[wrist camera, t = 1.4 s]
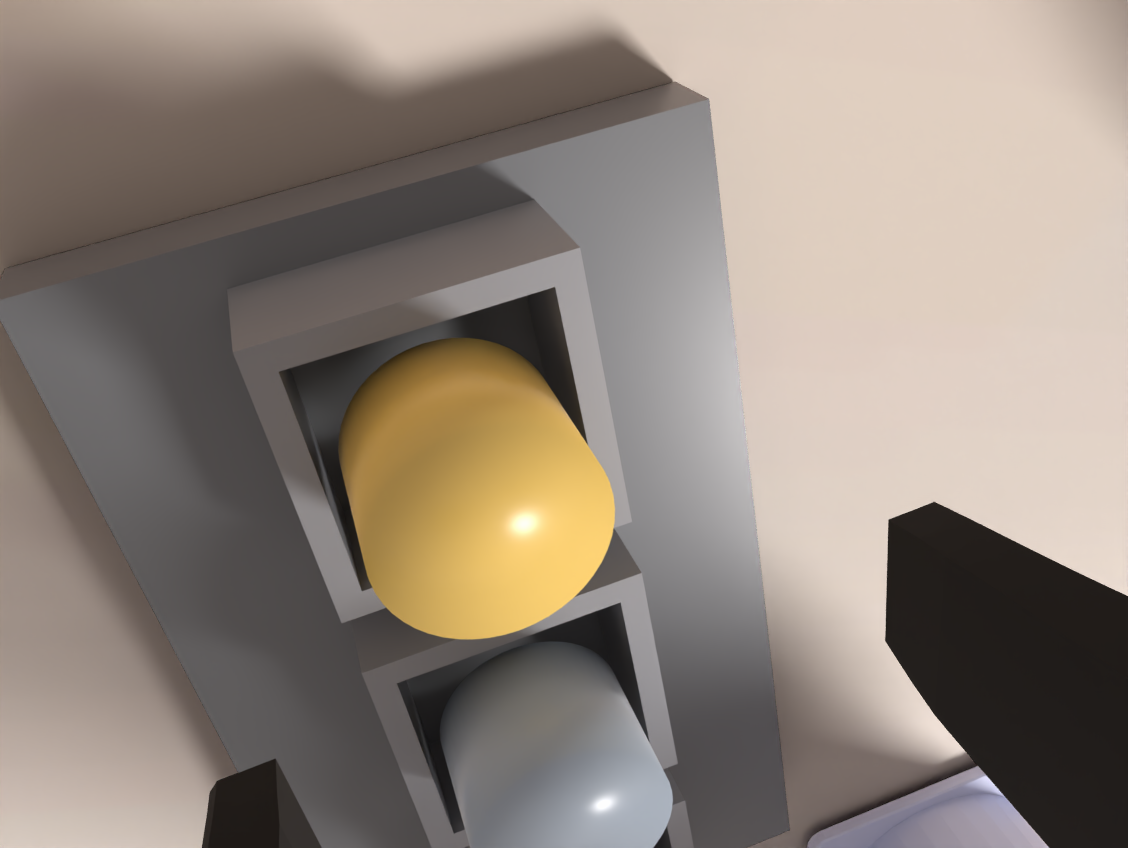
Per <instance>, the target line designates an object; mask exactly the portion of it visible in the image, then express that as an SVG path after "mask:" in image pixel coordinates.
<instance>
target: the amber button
mask: <svg viewBox="0 0 1128 848" xmlns="http://www.w3.org/2000/svg"><path fill="white" fill-rule="evenodd" d="M338 453H339V461H340V466H341V471H342V475H343V479H344V483H345V487H346V491H347V495H348V499H349V503H350V507H351V511H352V516H353V520H354V524H355V528H356V532H357V536H358V540H359V544H360V548H361V552H362V556H363V561H364V565H365V568H366V572H367V576H368V579H369V581H370V584H371V586H372V588H373V590H374V592H375V593H376V595H377V596H378V598H379V599H380V601H381V602H382V603H383V604H384V606H385V607H386V608H387V609H388V610H389V611H390V612H391V613H392V614H394V615H395V616H396V617H398V618H399V619H400V620H401V621H403V622H405V623H406V624H408V625H410V626H412V627H414V628H415V629H418V630H420V631H423V632H426V633H428V634H432V635H436V636H440V637H445V638H453V639H483V638H491V637H496V636H501V635H506V634H509V633H512V632H515V631H519V630H521V629H524V628H526V627H529V626H531V625H533V624H535V623H537V622H539V621H541V620H543V619H545V618H547V617H549V616H550V615H551V614H553V613H554V612H556V611H557V610H559V609H560V608H562V607H563V606H564V605H565V604H567V603H568V602H569V601H570V600H572V599H573V598H574V597H575V596H576V595H577V594H578V593H579V592H580V591H581V590H582V589H583V588H584V587H585V585H586V584H587V583H588V582H589V580H590V579H591V578H592V577H593V575H594V574H595V572H596V571H597V569H598V567H599V566H600V564H601V563H602V560H603V558H604V556H605V554H606V552H607V550H608V547H609V544H610V541H611V538H612V534H613V528H614V522H615V504H614V496H613V492H612V488H611V485H610V482H609V480H608V477H607V475H606V473H605V471H604V469H603V468H602V466H601V465H600V463H599V462H598V460H597V459H596V457H595V456H594V454H593V452H592V451H591V449H590V448H589V446H588V445H587V443H586V442H585V440H584V439H583V437H582V436H581V434H580V433H579V431H578V430H577V428H576V427H575V425H574V423H573V422H572V420H571V419H570V417H569V416H568V414H567V413H566V411H565V410H564V408H563V407H562V405H561V404H560V402H559V401H558V399H557V398H556V396H555V394H554V393H553V391H552V390H551V388H550V387H549V385H548V384H547V382H546V381H545V379H544V378H543V376H542V375H541V373H540V372H539V371H538V370H537V369H536V368H535V367H534V366H533V365H532V364H531V363H530V362H529V361H528V360H526V359H525V358H524V357H523V356H521V355H520V354H518V353H516V352H515V351H513V350H511V349H509V348H507V347H505V346H502V345H500V344H497V343H494V342H490V341H486V340H481V339H474V338H448V339H440V340H435V341H431V342H427V343H423V344H420V345H418V346H415V347H412V348H410V349H407V350H406V351H404V352H402V353H400V354H398V355H396V356H394V357H393V358H391V359H390V360H388V361H387V362H385V363H384V364H382V365H381V366H380V367H379V368H378V369H377V370H375V371H374V372H373V373H372V374H371V375H370V376H369V377H368V378H367V379H366V380H365V382H364V383H363V384H362V385H361V386H360V387H359V389H358V390H357V392H356V393H355V395H354V396H353V398H352V400H351V401H350V403H349V405H348V407H347V409H346V412H345V415H344V417H343V420H342V423H341V428H340V433H339V444H338Z"/></svg>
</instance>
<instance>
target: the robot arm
mask: <svg viewBox="0 0 1128 848" xmlns="http://www.w3.org/2000/svg"><path fill="white" fill-rule="evenodd" d="M885 641H886V643H887V644H888V646H889V647H890V649H891V651H892V652H893V654H894V655H895V657H896V658H897V660H898V661H899V663H900V664H901V666H902V668H903V669H904V671H905V672H906V674H907V675H908V677H909V678H910V680H911V681H912V683H913V684H914V686H915V687H916V689H917V690H918V692H919V693H920V694H921V696H922V697H923V699H924V700H925V702H926V703H927V705H928V706H929V707H930V709H931V710H932V712H933V713H934V715H935V716H936V717H937V718H938V719H939V721H940V722H941V723H942V724H943V725H944V727H945V728H946V729H947V730H948V731H949V733H950V734H951V735H952V736H953V737H954V738H955V740H956V741H957V742H958V743H959V744H960V745H961V747H962V748H963V749H964V750H965V751H966V752H967V754H968V755H969V756H970V757H971V758H972V759H973V761H974V762H975V763H976V764H977V765H978V766H976V767H974V768H971V769H969V770H966V771H964V772H961V773H959V774H957V775H954V776H952V777H949V778H947V779H945V780H942V781H940V782H937V783H935V784H932V785H930V786H928V787H925V788H923V789H920V790H918V791H916V792H913V793H911V794H908V795H906V796H903V797H901V798H899V799H896V800H894V801H891V802H889V803H887V804H884V805H882V806H879V807H877V808H874V809H872V810H870V811H867V812H865V813H862V814H860V815H857V816H855V817H853V818H850V819H848V820H845V821H843V822H841V823H838V824H836V825H833V826H831V827H828V828H826V829H824V830H821V831H819V832H817V833H816V834H814V835H813V836H812V837H811V839H810V840H809V842H808V846H807V848H1128V596H1126V595H1124V594H1122V593H1120V592H1118V591H1115V590H1113V589H1111V588H1109V587H1107V586H1105V585H1103V584H1101V583H1098V582H1096V581H1094V580H1092V579H1090V578H1088V577H1086V576H1084V575H1082V574H1080V573H1078V572H1075V571H1073V570H1071V569H1069V568H1067V567H1065V566H1063V565H1061V564H1059V563H1057V562H1055V561H1053V560H1051V559H1049V558H1047V557H1045V556H1043V555H1041V554H1039V553H1037V552H1035V551H1033V550H1031V549H1029V548H1027V547H1025V546H1023V545H1021V544H1019V543H1017V542H1015V541H1013V540H1011V539H1009V538H1007V537H1005V536H1003V535H1001V534H999V533H997V532H995V531H993V530H991V529H989V528H987V527H985V526H983V525H981V524H979V523H977V522H975V521H973V520H971V519H969V518H967V517H965V516H963V515H961V514H958V513H956V512H954V511H952V510H950V509H948V508H946V507H944V506H942V505H940V504H938V503H936V502H933V503H931V504H928V505H925V506H923V507H920V508H918V509H915V510H913V511H910V512H907V513H905V514H902V515H900V516H897V517H895V518H892V519H889V523H888V561H887V598H886V635H885ZM202 848H322V847H321V845H320V843H319V841H318V839H317V837H316V836H315V834H314V832H313V830H312V828H311V826H310V824H309V822H308V820H307V818H306V816H305V814H304V812H303V810H302V808H301V806H300V805H299V803H298V801H297V799H296V797H295V795H294V793H293V791H292V789H291V787H290V785H289V783H288V781H287V779H286V777H285V776H284V774H283V772H282V770H281V768H280V766H279V764H278V762H277V760H276V758H275V759H273V760H270V761H267V762H265V763H262V764H260V765H257V766H255V767H252V768H249V769H247V770H244V771H242V772H239V773H237V774H234V775H231V776H229V777H226V778H224V779H221V780H219V781H217V782H216V784H215V785H214V787H213V788H212V790H211V791H210V795H209V803H208V811H207V818H206V825H205V831H204V838H203V844H202Z"/></svg>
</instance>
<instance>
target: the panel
mask: <svg viewBox="0 0 1128 848" xmlns="http://www.w3.org/2000/svg"><path fill="white" fill-rule="evenodd" d="M0 321H1V323H2V325H3V327H4V328H5V330H6V332H7V334H8V336H9V338H10V340H11V342H12V344H13V346H14V347H15V349H16V351H17V353H18V355H19V357H20V359H21V361H22V363H23V365H24V366H25V368H26V370H27V372H28V374H29V376H30V378H31V380H32V382H33V384H34V385H35V387H36V389H37V391H38V393H39V395H40V397H41V399H42V401H43V403H44V404H45V406H46V408H47V410H48V412H49V414H50V416H51V418H52V420H53V422H54V423H55V425H56V427H57V429H58V431H59V433H60V435H61V437H62V439H63V441H64V442H65V444H66V446H67V448H68V450H69V452H70V454H71V456H72V458H73V460H74V461H75V463H76V465H77V467H78V469H79V471H80V473H81V475H82V477H83V479H84V480H85V482H86V484H87V486H88V488H89V490H90V492H91V494H92V496H93V498H94V499H95V501H96V503H97V505H98V507H99V509H100V511H101V513H102V515H103V517H104V518H105V520H106V522H107V524H108V526H109V528H110V530H111V532H112V534H113V536H114V537H115V539H116V541H117V543H118V545H119V547H120V549H121V551H122V553H123V555H124V556H125V558H126V560H127V562H128V564H129V566H130V568H131V570H132V572H133V574H134V575H135V577H136V579H137V581H138V583H139V585H140V587H141V589H142V591H143V593H144V594H145V596H146V598H147V600H148V602H149V604H150V606H151V608H152V610H153V612H154V614H155V615H156V617H157V619H158V621H159V623H160V625H161V627H162V629H163V631H164V633H165V634H166V636H167V638H168V640H169V642H170V644H171V646H172V648H173V650H174V652H175V653H176V655H177V657H178V659H179V661H180V663H181V665H182V667H183V669H184V671H185V672H186V674H187V676H188V678H189V680H190V682H191V684H192V686H193V688H194V690H195V691H196V693H197V695H198V697H199V699H200V701H201V703H202V705H203V707H204V709H205V710H206V712H207V714H208V716H209V718H210V720H211V722H212V724H213V726H214V728H215V729H216V731H217V733H218V735H219V737H220V739H221V741H222V743H223V745H224V747H225V748H226V750H227V752H228V754H229V756H230V758H231V760H232V762H233V764H234V766H235V767H236V769H237V771H238V773H239V772H242V771H244V770H247V769H249V768H252V767H255V766H257V765H260V764H262V763H265V762H267V761H270V760H273V759H275V758H276V760H277V762H278V764H279V766H280V768H281V770H282V772H283V774H284V776H285V777H286V779H287V781H288V783H289V785H290V787H291V789H292V791H293V793H294V795H295V797H296V799H297V801H298V803H299V805H300V806H301V808H302V810H303V812H304V814H305V816H306V818H307V820H308V822H309V824H310V826H311V828H312V830H313V832H314V834H315V836H316V837H317V839H318V841H319V843H320V845H321V847H322V848H470V845H469V841H468V838H467V834H466V831H465V827H464V824H463V820H462V816H461V813H460V809H459V806H458V802H457V799H456V795H455V791H454V788H453V784H452V781H451V777H450V774H449V770H448V767H447V763H446V759H445V756H444V752H443V749H442V745H441V741H440V722H441V718H442V714H443V711H444V709H445V706H446V704H447V702H448V700H449V699H450V697H451V695H452V694H453V692H454V691H455V690H456V688H457V687H458V686H459V684H460V683H461V682H462V681H463V680H464V679H465V678H466V677H467V676H468V675H469V674H470V673H472V672H473V671H474V670H475V669H476V668H478V667H479V666H480V665H482V664H483V663H485V662H486V661H488V660H489V659H491V658H493V657H495V656H497V655H499V654H501V653H503V652H506V651H508V650H510V649H513V648H516V647H520V646H523V645H527V644H532V643H537V642H548V641H553V642H567V643H573V644H577V645H580V646H583V647H585V648H588V649H590V650H592V651H593V652H595V653H597V654H598V655H600V656H601V657H602V658H603V659H604V660H605V661H606V662H607V663H608V664H609V666H610V667H611V669H612V671H613V672H614V674H615V676H616V678H617V680H618V682H619V684H620V686H621V688H622V690H623V692H624V694H625V696H626V698H627V700H628V702H629V704H630V706H631V708H632V710H633V712H634V713H635V715H636V717H637V719H638V721H639V723H640V725H641V727H642V729H643V731H644V733H645V735H646V737H647V739H648V741H649V743H650V745H651V747H652V749H653V751H654V753H655V755H656V757H657V759H658V761H659V763H660V765H661V767H662V769H663V770H664V772H665V774H666V776H667V778H668V780H669V782H670V786H671V789H672V796H673V803H672V811H671V815H670V819H669V821H668V824H667V826H666V829H665V830H664V832H663V834H662V836H661V838H660V839H659V840H658V842H657V843H656V845H655V846H654V847H653V848H748V847H750V846H752V845H755V844H757V843H760V842H762V841H765V840H767V839H769V838H772V837H774V836H777V835H779V834H782V833H784V832H786V831H789V830H790V828H789V819H788V810H787V801H786V791H785V782H784V773H783V764H782V755H781V746H780V737H779V728H778V719H777V710H776V701H775V692H774V683H773V674H772V665H771V656H770V647H769V638H768V628H767V619H766V610H765V601H764V592H763V583H762V574H761V565H760V556H759V547H758V538H757V529H756V520H755V511H754V502H753V493H752V484H751V474H750V465H749V456H748V447H747V438H746V429H745V420H744V411H743V402H742V393H741V384H740V375H739V366H738V357H737V348H736V339H735V330H734V321H733V311H732V302H731V293H730V284H729V275H728V266H727V257H726V248H725V239H724V230H723V221H722V212H721V203H720V194H719V185H718V176H717V167H716V158H715V148H714V139H713V130H712V121H711V112H710V103H709V99H708V98H706V97H704V96H702V95H700V94H698V93H696V92H694V91H692V90H691V89H689V88H687V87H685V86H683V85H681V84H679V83H677V82H672V83H669V84H665V85H662V86H658V87H654V88H651V89H647V90H644V91H640V92H637V93H633V94H629V95H626V96H622V97H619V98H615V99H611V100H608V101H604V102H601V103H597V104H594V105H590V106H586V107H583V108H579V109H576V110H572V111H568V112H565V113H561V114H558V115H554V116H551V117H547V118H543V119H540V120H536V121H533V122H529V123H525V124H522V125H518V126H515V127H511V128H508V129H504V130H500V131H497V132H493V133H490V134H486V135H482V136H479V137H475V138H472V139H468V140H465V141H461V142H457V143H454V144H450V145H447V146H443V147H439V148H436V149H432V150H429V151H425V152H422V153H418V154H414V155H411V156H407V157H404V158H400V159H396V160H393V161H389V162H386V163H382V164H378V165H375V166H371V167H368V168H364V169H361V170H357V171H353V172H350V173H346V174H343V175H339V176H335V177H332V178H328V179H325V180H321V181H318V182H314V183H310V184H307V185H303V186H300V187H296V188H292V189H289V190H285V191H282V192H278V193H275V194H271V195H267V196H264V197H260V198H257V199H253V200H249V201H246V202H242V203H239V204H235V205H232V206H228V207H224V208H221V209H217V210H214V211H210V212H206V213H203V214H199V215H196V216H192V217H189V218H185V219H181V220H178V221H174V222H171V223H167V224H163V225H160V226H156V227H153V228H149V229H146V230H142V231H138V232H135V233H131V234H128V235H124V236H120V237H117V238H113V239H110V240H106V241H103V242H99V243H95V244H92V245H88V246H85V247H81V248H77V249H74V250H70V251H67V252H63V253H60V254H56V255H52V256H49V257H45V258H42V259H38V260H34V261H31V262H27V263H24V264H20V265H16V266H13V267H9V268H6V269H4V272H3V274H2V277H1V279H0ZM448 338H474V339H481V340H486V341H490V342H494V343H497V344H500V345H502V346H505V347H507V348H509V349H511V350H513V351H515V352H516V353H518V354H520V355H521V356H523V357H524V358H525V359H526V360H528V361H529V362H530V363H531V364H532V365H533V366H534V367H535V368H536V369H537V370H538V371H539V372H540V373H541V375H542V376H543V378H544V379H545V381H546V382H547V384H548V385H549V387H550V388H551V390H552V391H553V393H554V394H555V396H556V398H557V399H558V401H559V402H560V404H561V405H562V407H563V408H564V410H565V411H566V413H567V414H568V416H569V417H570V419H571V420H572V422H573V423H574V425H575V427H576V428H577V430H578V431H579V433H580V434H581V436H582V437H583V439H584V440H585V442H586V443H587V445H588V446H589V448H590V449H591V451H592V452H593V454H594V456H595V457H596V459H597V460H598V462H599V463H600V465H601V466H602V468H603V469H604V471H605V473H606V475H607V477H608V480H609V482H610V485H611V488H612V492H613V496H614V504H615V522H614V528H613V534H612V538H611V541H610V544H609V547H608V550H607V552H606V554H605V556H604V558H603V560H602V563H601V564H600V566H599V567H598V569H597V571H596V572H595V574H594V575H593V577H592V578H591V579H590V580H589V582H588V583H587V584H586V585H585V587H584V588H583V589H582V590H581V591H580V592H579V593H578V594H577V595H576V596H575V597H574V598H573V599H572V600H570V601H569V602H568V603H567V604H565V605H564V606H563V607H562V608H560V609H559V610H557V611H556V612H554V613H553V614H551V615H550V616H549V617H547V618H545V619H543V620H541V621H539V622H537V623H535V624H533V625H531V626H529V627H526V628H524V629H521V630H519V631H515V632H512V633H509V634H506V635H501V636H496V637H491V638H483V639H453V638H445V637H440V636H436V635H432V634H428V633H426V632H423V631H420V630H418V629H415V628H414V627H412V626H410V625H408V624H406V623H405V622H403V621H401V620H400V619H399V618H398V617H396V616H395V615H394V614H392V613H391V612H390V611H389V610H388V609H387V608H386V607H385V606H384V604H383V603H382V602H381V601H380V599H379V598H378V596H377V595H376V593H375V592H374V590H373V588H372V586H371V584H370V581H369V579H368V576H367V572H366V568H365V565H364V561H363V556H362V552H361V548H360V544H359V540H358V536H357V532H356V528H355V524H354V520H353V516H352V511H351V507H350V503H349V499H348V495H347V491H346V487H345V483H344V479H343V475H342V471H341V466H340V461H339V453H338V444H339V433H340V428H341V423H342V420H343V417H344V415H345V412H346V409H347V407H348V405H349V403H350V401H351V400H352V398H353V396H354V395H355V393H356V392H357V390H358V389H359V387H360V386H361V385H362V384H363V383H364V382H365V380H366V379H367V378H368V377H369V376H370V375H371V374H372V373H373V372H374V371H375V370H377V369H378V368H379V367H380V366H381V365H382V364H384V363H385V362H387V361H388V360H390V359H391V358H393V357H394V356H396V355H398V354H400V353H402V352H404V351H406V350H407V349H410V348H412V347H415V346H418V345H420V344H423V343H427V342H431V341H435V340H440V339H448Z"/></svg>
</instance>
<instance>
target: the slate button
mask: <svg viewBox="0 0 1128 848" xmlns="http://www.w3.org/2000/svg"><path fill="white" fill-rule="evenodd" d="M440 741H441V745H442V749H443V752H444V756H445V759H446V763H447V767H448V770H449V774H450V777H451V781H452V784H453V788H454V791H455V795H456V799H457V802H458V806H459V809H460V813H461V816H462V820H463V824H464V827H465V831H466V834H467V838H468V841H469V845H470V848H653V847H654V846H655V845H656V843H657V842H658V840H659V839H660V838H661V836H662V834H663V832H664V830H665V829H666V826H667V824H668V821H669V819H670V815H671V811H672V803H673V796H672V789H671V786H670V782H669V780H668V778H667V776H666V774H665V772H664V770H663V769H662V767H661V765H660V763H659V761H658V759H657V757H656V755H655V753H654V751H653V749H652V747H651V745H650V743H649V741H648V739H647V737H646V735H645V733H644V731H643V729H642V727H641V725H640V723H639V721H638V719H637V717H636V715H635V713H634V712H633V710H632V708H631V706H630V704H629V702H628V700H627V698H626V696H625V694H624V692H623V690H622V688H621V686H620V684H619V682H618V680H617V678H616V676H615V674H614V672H613V671H612V669H611V667H610V666H609V664H608V663H607V662H606V661H605V660H604V659H603V658H602V657H601V656H600V655H598V654H597V653H595V652H593V651H592V650H590V649H588V648H585V647H583V646H580V645H577V644H573V643H567V642H553V641H548V642H537V643H532V644H527V645H523V646H520V647H516V648H513V649H510V650H508V651H506V652H503V653H501V654H499V655H497V656H495V657H493V658H491V659H489V660H488V661H486V662H485V663H483V664H482V665H480V666H479V667H478V668H476V669H475V670H474V671H473V672H472V673H470V674H469V675H468V676H467V677H466V678H465V679H464V680H463V681H462V682H461V683H460V684H459V686H458V687H457V688H456V690H455V691H454V692H453V694H452V695H451V697H450V699H449V700H448V702H447V704H446V706H445V709H444V711H443V714H442V718H441V722H440Z"/></svg>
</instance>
